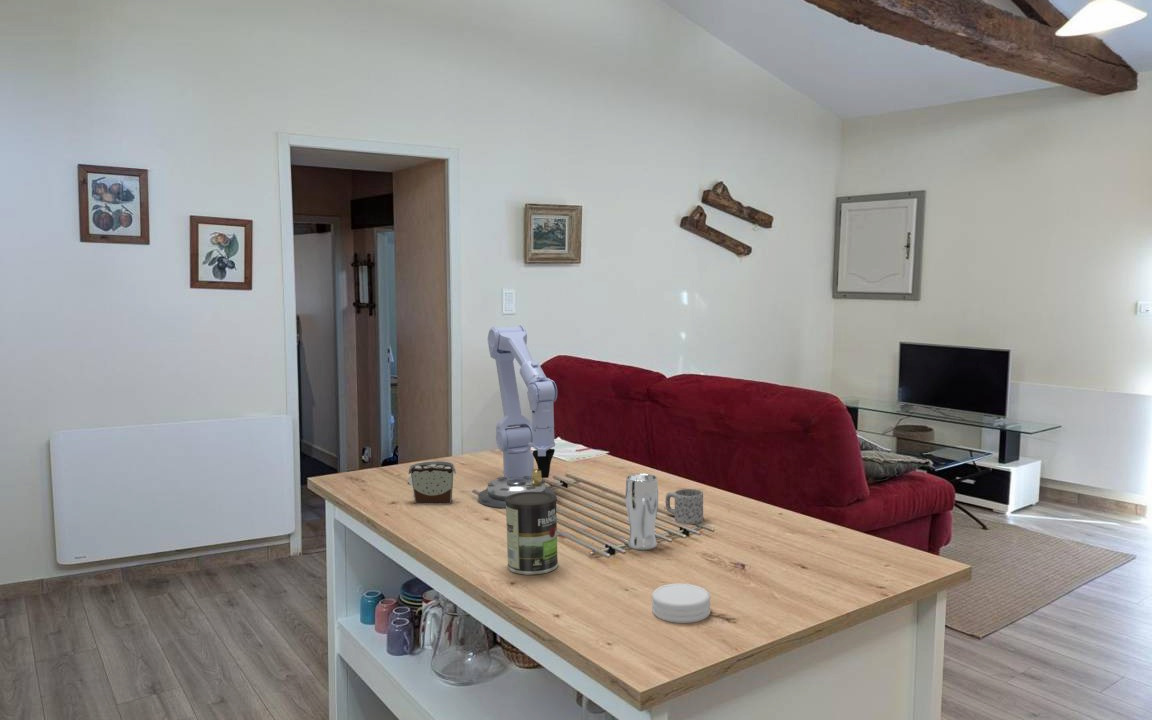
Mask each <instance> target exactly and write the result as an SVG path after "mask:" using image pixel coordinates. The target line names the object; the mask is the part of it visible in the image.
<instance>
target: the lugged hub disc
mask: <svg viewBox="0 0 1152 720" xmlns="http://www.w3.org/2000/svg"><path fill="white" fill-rule="evenodd" d="M545 487H546V482H545V479H543V478H542V476H541V470H540V469H538V468H534V470H532V476H524V477H507V478H506V477H504V476H501V477H497V479H493V480H491V481H489V482H487V489H488V496H489V497H491V498H494V499H498V500H505V498H506V497H508V496H510V495H512V494H516V493H522V492H545Z"/></svg>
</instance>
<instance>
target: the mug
mask: <svg viewBox="0 0 1152 720" xmlns="http://www.w3.org/2000/svg"><path fill="white" fill-rule="evenodd" d="M671 498H673V499H674V508H672V507H671ZM665 509H666V511H667V512H668V513H670V514H672V515H674V522H676V523H678V524H683V525H697V524H701V523H702V522H704V492H703V491H702V490H700V489H696V488H695V489H694V488H681V489H677V490H675V491H674V492H667V493H666V495H665Z"/></svg>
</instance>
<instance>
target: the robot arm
mask: <svg viewBox="0 0 1152 720" xmlns="http://www.w3.org/2000/svg"><path fill="white" fill-rule="evenodd" d="M527 341H528V333H527V330H526V328H525V327H524V326H523V325H518V326H517V325H516V326H515V325H514V326H492V327H491V328H490V329H489V330H488V335H487V344H488V350H489V351H488V352H489V355H490V358H492V359H493V360H495V365H496V373H497V378H498V385H499V389H500V390H499V391H500V397H501V403H502V411H503V417H502V419H500V421H499V422H498V423H497V424H496V426H495V429H496V430H495V431H496V432H495V434H496V435H495V443H496V446H497V448H498V449H499V451H501V452H502V459H503V460H502V461H503V463H502V464H503V477H506V478H507V477H524V476H532V470H534V469H535V461H536V465H537V469H540V470H541V476H542V479H548V478H549V475H550V472H551V471H550V470H551V464H552V463H551V462H552V459H553V457H554V454H555V451H556V449H555V448H554V447H555V446H556V442H555V418H554V415H555V414H554V412H555V411H554V403H555V402H556V401H557V398H558V388H557V384H556V383H555V381H554V380H552V379H550V378H549V377H547V376H546V374H545V373H544V370H543V369H542V366H541V365H540V364H539V362H538V361H536V360H533V358H532V356H531V353H530V351H529V348H528V346H527V344H528V342H527ZM514 360H515V361H516V362H517V363H518V365H519V366H520V368H519V374H520V377H521V378H522V380H523V382H524V384H525V386H526V388H527V391H526V395H527V399H528V402H529V409H530V411H531V420H530V419H529V418H527V417H525V416H524V415H523V414H522V409H521V403H520V398H519V397H520V396H519V391H518V390H519V389H518V384H517V377H516V372H515V371H516V370H515V365H514ZM531 448H533V449H534V450H533V451H532V450H531Z"/></svg>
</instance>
